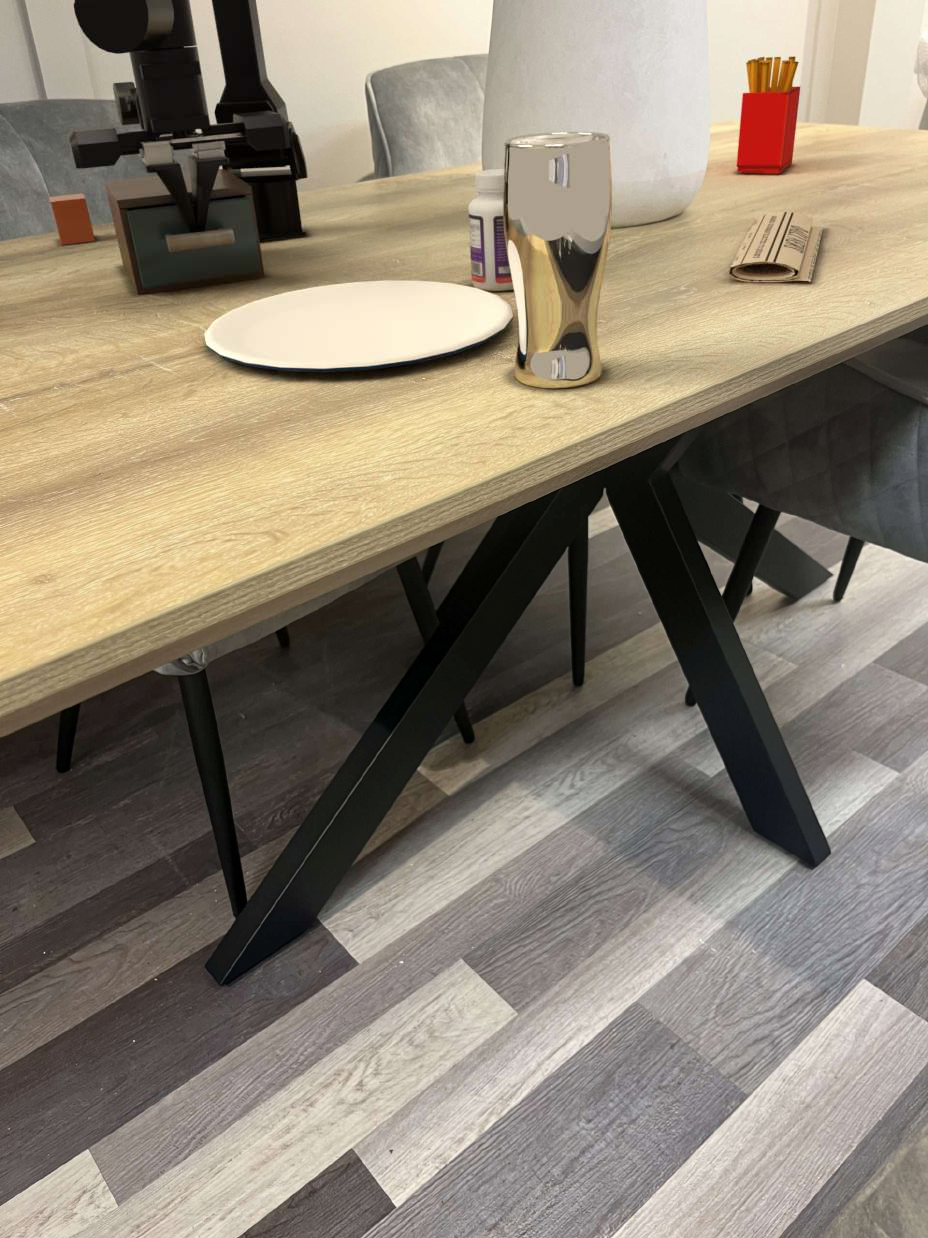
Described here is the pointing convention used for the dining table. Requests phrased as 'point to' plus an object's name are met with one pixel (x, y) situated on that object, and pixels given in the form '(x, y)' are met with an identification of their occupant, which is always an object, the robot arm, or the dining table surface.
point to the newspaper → (778, 249)
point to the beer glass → (557, 251)
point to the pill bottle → (489, 234)
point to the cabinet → (156, 193)
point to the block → (72, 219)
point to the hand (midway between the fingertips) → (198, 240)
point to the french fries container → (768, 117)
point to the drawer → (194, 243)
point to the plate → (358, 326)
